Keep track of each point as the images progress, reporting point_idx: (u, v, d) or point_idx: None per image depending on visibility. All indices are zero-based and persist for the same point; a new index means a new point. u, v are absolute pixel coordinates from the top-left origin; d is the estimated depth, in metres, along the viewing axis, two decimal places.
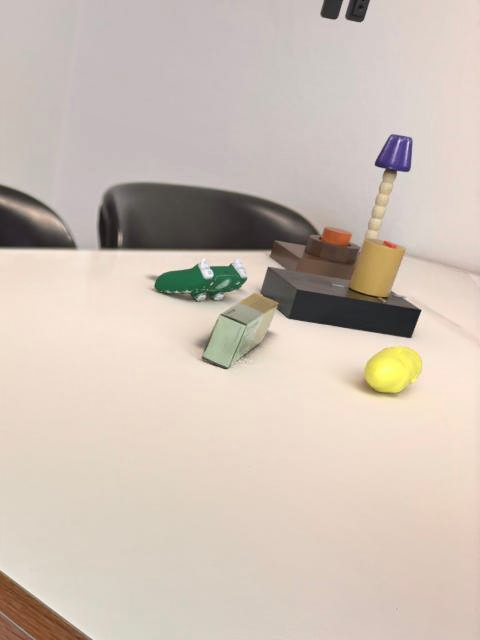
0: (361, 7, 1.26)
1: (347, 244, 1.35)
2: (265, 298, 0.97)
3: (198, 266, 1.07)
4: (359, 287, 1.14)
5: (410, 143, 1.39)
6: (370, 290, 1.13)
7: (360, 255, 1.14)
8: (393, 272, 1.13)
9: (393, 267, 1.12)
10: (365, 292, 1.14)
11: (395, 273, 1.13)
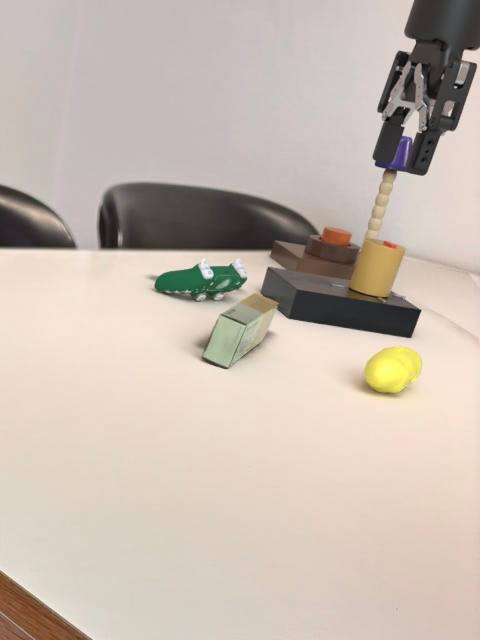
0: (424, 159, 1.07)
1: (347, 244, 1.35)
2: (265, 298, 0.97)
3: (198, 266, 1.07)
4: (359, 287, 1.14)
5: (410, 143, 1.39)
6: (370, 290, 1.13)
7: (360, 255, 1.14)
8: (393, 272, 1.13)
9: (393, 267, 1.12)
10: (365, 292, 1.14)
11: (395, 273, 1.13)
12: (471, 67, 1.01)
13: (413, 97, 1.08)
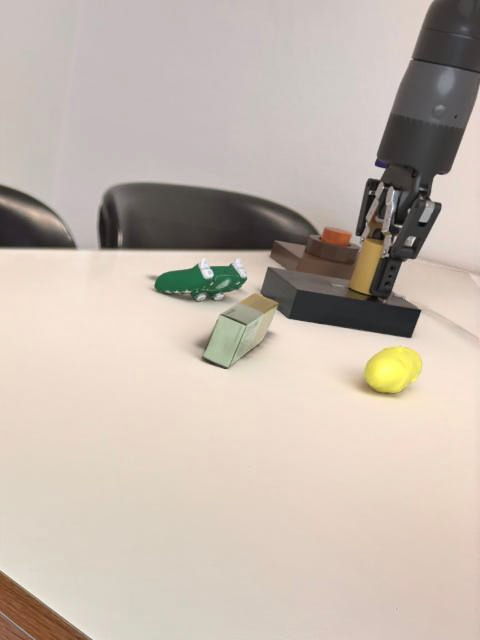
0: (387, 283, 1.12)
1: (347, 244, 1.35)
2: (265, 298, 0.97)
3: (198, 266, 1.07)
4: (359, 287, 1.14)
5: None
6: None
7: (360, 255, 1.14)
8: None
9: None
10: (365, 292, 1.14)
11: None
12: (435, 209, 1.05)
13: None
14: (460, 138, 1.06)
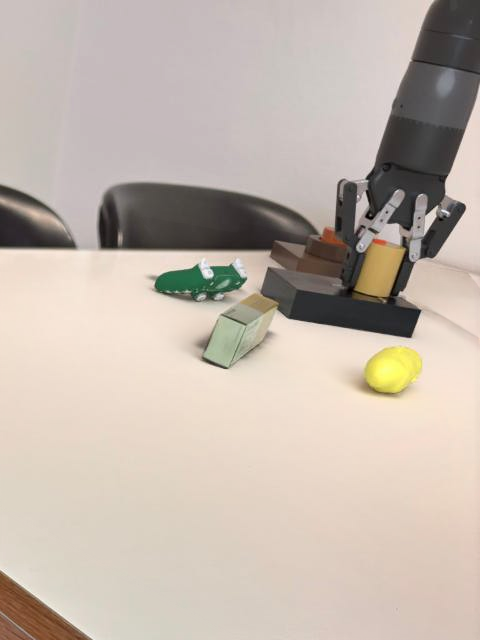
0: None
1: None
2: (265, 298, 0.97)
3: (198, 266, 1.07)
4: None
5: None
6: None
7: None
8: (363, 265, 1.13)
9: None
10: None
11: (366, 268, 1.13)
12: (343, 187, 1.09)
13: None
14: (412, 130, 1.05)
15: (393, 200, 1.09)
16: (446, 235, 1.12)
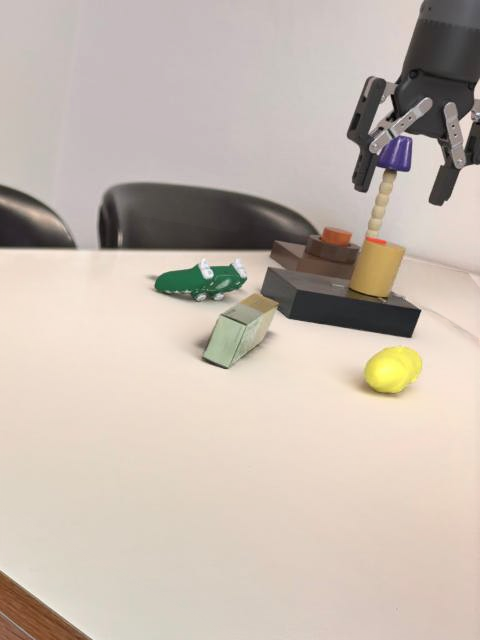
0: None
1: (347, 244, 1.35)
2: (265, 298, 0.97)
3: (198, 266, 1.07)
4: None
5: (410, 143, 1.39)
6: (350, 281, 1.16)
7: None
8: (363, 265, 1.13)
9: (363, 260, 1.13)
10: (349, 284, 1.16)
11: (366, 268, 1.13)
12: (373, 81, 1.05)
13: None
14: (440, 33, 1.02)
15: (420, 109, 1.06)
16: None
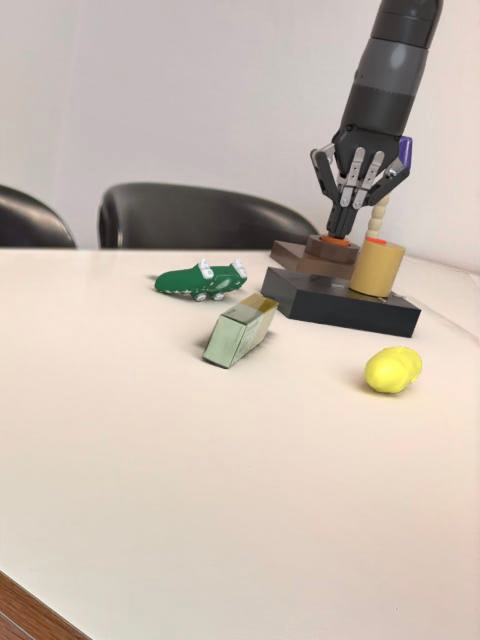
0: None
1: None
2: (265, 298, 0.97)
3: (198, 266, 1.07)
4: None
5: (410, 143, 1.39)
6: (350, 281, 1.16)
7: None
8: (363, 265, 1.13)
9: (363, 260, 1.13)
10: (349, 284, 1.16)
11: (366, 268, 1.13)
12: (315, 157, 1.30)
13: None
14: (370, 96, 1.25)
15: (355, 156, 1.29)
16: (387, 191, 1.32)
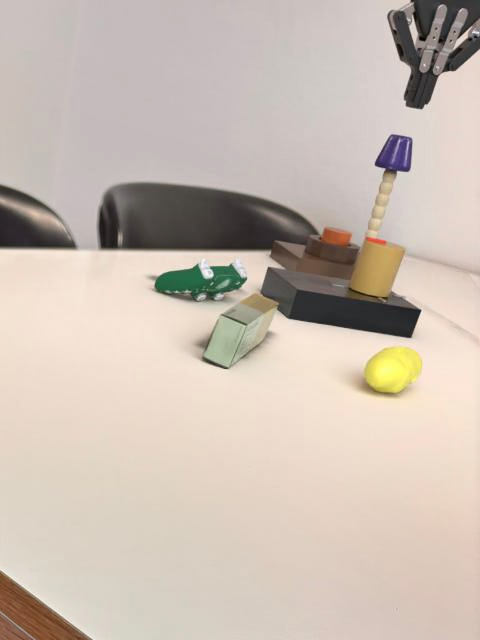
0: None
1: (347, 244, 1.35)
2: (265, 298, 0.97)
3: (198, 266, 1.07)
4: None
5: (410, 143, 1.39)
6: (350, 281, 1.16)
7: None
8: (363, 265, 1.13)
9: (363, 260, 1.13)
10: (349, 284, 1.16)
11: (366, 268, 1.13)
12: (393, 18, 1.22)
13: None
14: None
15: (437, 15, 1.21)
16: (470, 54, 1.24)
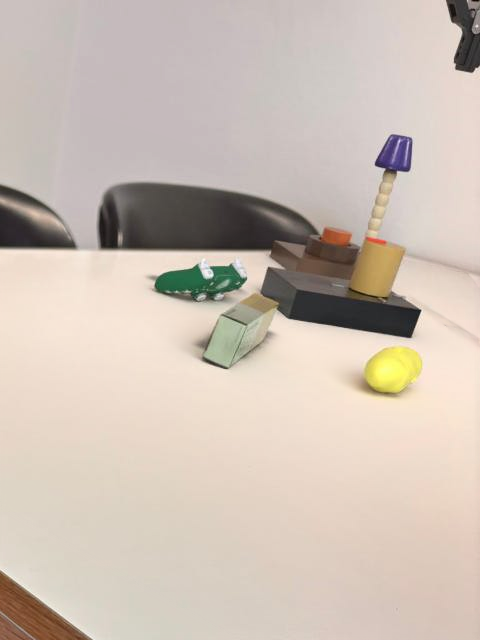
0: None
1: (347, 244, 1.35)
2: (265, 298, 0.97)
3: (198, 266, 1.07)
4: None
5: (410, 143, 1.39)
6: (350, 281, 1.16)
7: None
8: (363, 265, 1.13)
9: (363, 260, 1.13)
10: (349, 284, 1.16)
11: (366, 268, 1.13)
12: None
13: None
14: None
15: None
16: None
